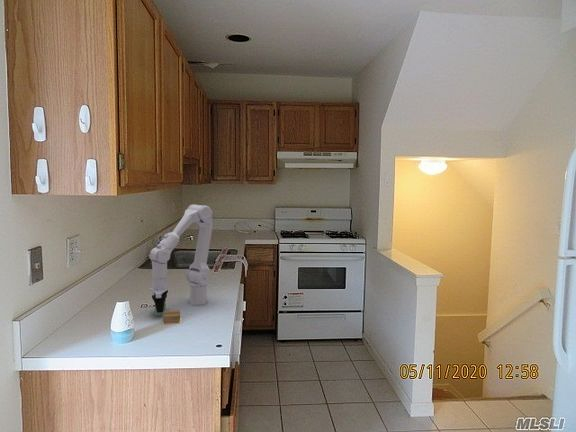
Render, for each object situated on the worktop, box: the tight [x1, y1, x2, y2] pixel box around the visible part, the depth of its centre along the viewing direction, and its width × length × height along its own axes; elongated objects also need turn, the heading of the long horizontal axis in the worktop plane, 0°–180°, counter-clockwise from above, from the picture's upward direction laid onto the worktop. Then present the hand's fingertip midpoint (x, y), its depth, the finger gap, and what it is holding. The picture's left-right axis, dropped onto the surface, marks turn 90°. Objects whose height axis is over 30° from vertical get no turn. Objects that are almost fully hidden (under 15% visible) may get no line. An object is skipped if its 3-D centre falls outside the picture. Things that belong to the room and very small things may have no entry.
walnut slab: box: [162, 309, 181, 325], centre depth 153 cm, size 6×6×3 cm
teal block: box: [154, 299, 167, 316], centre depth 160 cm, size 4×4×5 cm
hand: (160, 310), depth 160 cm, fingers closed on teal block, 4 cm apart
